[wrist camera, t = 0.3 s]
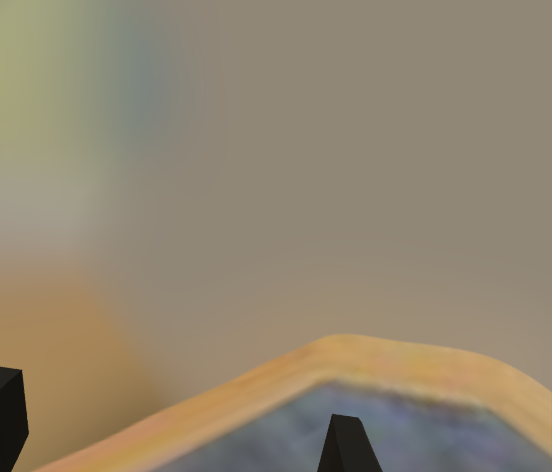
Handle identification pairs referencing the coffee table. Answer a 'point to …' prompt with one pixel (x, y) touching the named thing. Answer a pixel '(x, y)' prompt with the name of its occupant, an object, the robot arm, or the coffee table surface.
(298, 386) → the coffee table surface
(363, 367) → the coffee table surface
